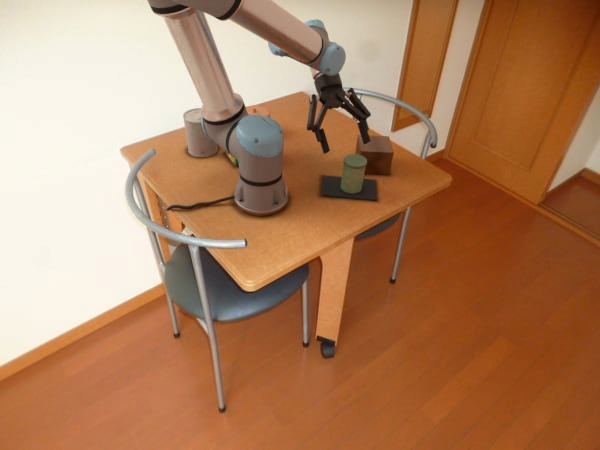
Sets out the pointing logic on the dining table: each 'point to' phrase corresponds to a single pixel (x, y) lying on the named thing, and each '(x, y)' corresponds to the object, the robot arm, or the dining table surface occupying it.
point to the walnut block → (376, 154)
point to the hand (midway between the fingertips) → (347, 147)
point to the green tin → (353, 173)
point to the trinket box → (258, 111)
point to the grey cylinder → (197, 135)
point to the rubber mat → (333, 189)
